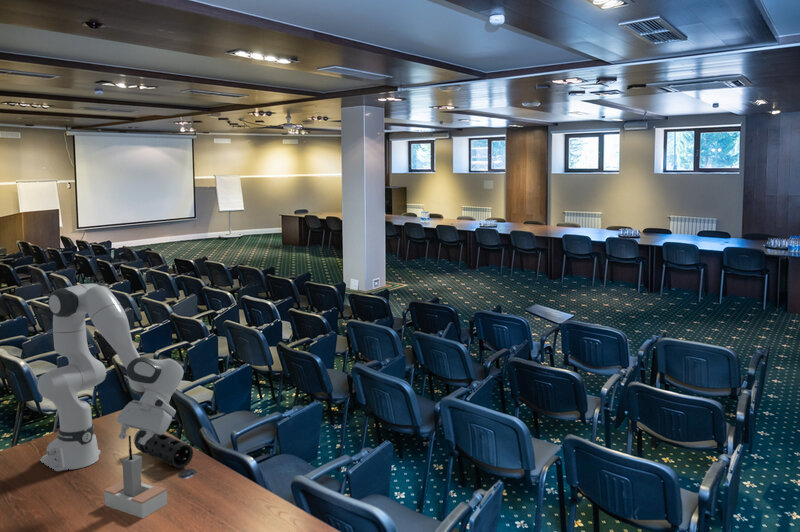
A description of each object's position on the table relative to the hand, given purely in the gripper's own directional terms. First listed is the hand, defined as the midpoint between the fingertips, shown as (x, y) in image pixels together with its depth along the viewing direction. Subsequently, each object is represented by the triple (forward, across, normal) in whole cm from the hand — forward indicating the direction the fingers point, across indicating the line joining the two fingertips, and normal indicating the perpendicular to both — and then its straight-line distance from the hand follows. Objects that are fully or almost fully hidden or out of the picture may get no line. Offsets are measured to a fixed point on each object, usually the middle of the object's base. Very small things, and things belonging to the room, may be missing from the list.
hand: (130, 441), depth 205 cm
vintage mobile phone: (+16, 0, +16) cm, 23 cm away
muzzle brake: (-4, -19, +37) cm, 42 cm away
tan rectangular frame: (+16, 0, +17) cm, 23 cm away
